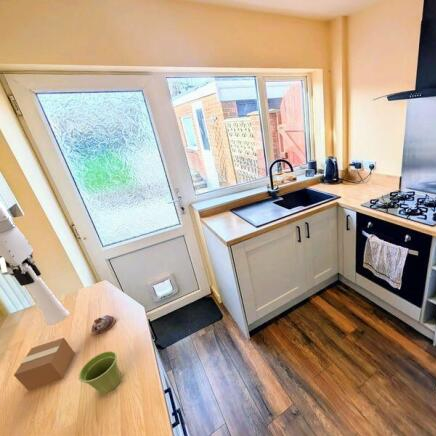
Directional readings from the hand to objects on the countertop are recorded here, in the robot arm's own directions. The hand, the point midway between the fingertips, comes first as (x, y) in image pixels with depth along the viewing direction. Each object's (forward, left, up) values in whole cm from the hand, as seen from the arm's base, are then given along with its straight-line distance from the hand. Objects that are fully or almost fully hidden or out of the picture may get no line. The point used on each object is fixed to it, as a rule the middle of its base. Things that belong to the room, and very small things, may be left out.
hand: (31, 279), depth 76 cm
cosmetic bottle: (0, 0, -17) cm, 17 cm away
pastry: (+6, +8, -32) cm, 33 cm away
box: (-5, -7, -31) cm, 33 cm away
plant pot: (+15, -21, -32) cm, 41 cm away
